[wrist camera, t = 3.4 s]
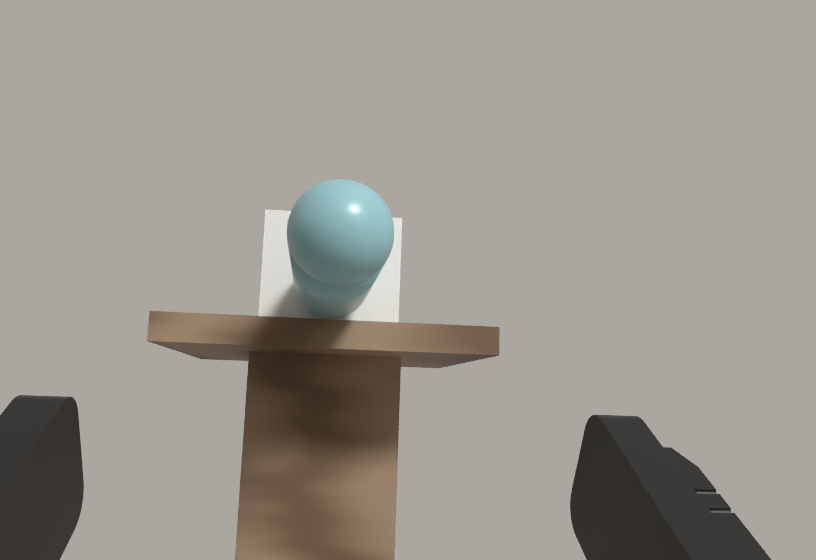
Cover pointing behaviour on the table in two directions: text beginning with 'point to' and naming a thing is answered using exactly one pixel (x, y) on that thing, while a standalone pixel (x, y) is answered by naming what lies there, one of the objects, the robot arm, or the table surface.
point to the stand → (319, 422)
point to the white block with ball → (332, 256)
